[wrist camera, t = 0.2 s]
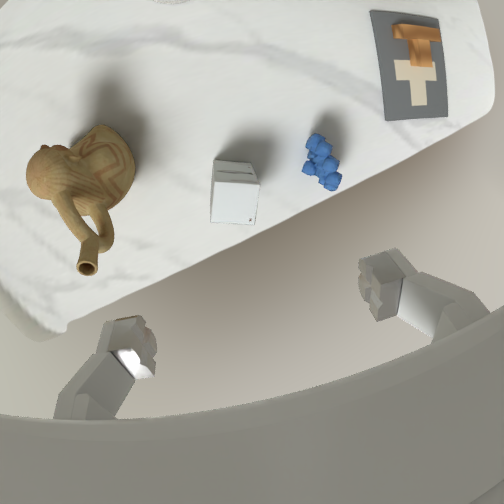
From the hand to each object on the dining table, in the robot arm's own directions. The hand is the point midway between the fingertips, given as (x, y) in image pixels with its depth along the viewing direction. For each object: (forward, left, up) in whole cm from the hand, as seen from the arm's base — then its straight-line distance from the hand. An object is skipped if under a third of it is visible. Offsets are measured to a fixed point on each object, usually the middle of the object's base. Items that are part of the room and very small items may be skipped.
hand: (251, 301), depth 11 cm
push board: (-5, +43, -48) cm, 64 cm away
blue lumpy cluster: (+12, +16, -48) cm, 52 cm away
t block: (-10, +43, -47) cm, 64 cm away
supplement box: (+13, 0, -48) cm, 49 cm away
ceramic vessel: (+3, -23, -48) cm, 53 cm away
